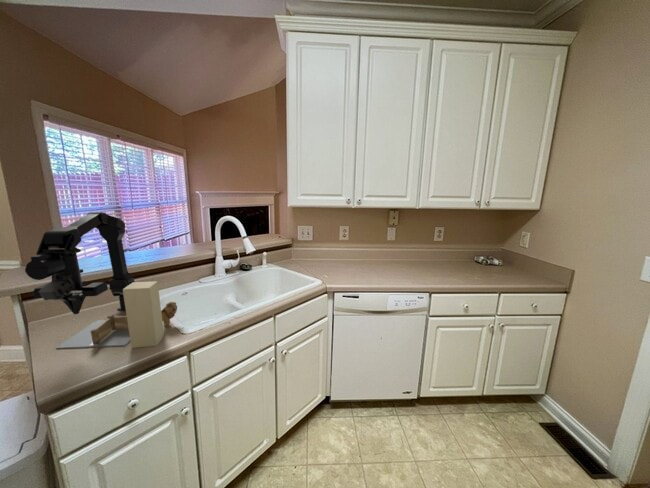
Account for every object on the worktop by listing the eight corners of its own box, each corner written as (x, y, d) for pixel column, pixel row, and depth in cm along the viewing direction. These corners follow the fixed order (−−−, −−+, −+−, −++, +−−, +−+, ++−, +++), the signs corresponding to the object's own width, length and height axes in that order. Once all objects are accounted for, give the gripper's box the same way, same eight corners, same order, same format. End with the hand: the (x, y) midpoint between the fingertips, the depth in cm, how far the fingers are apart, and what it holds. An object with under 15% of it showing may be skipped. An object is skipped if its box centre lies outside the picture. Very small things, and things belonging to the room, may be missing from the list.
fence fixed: (112, 328, 101) (109, 314, 100) (143, 327, 102) (141, 313, 101) (108, 331, 99) (105, 317, 98) (140, 329, 100) (138, 316, 99)
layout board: (97, 320, 107) (97, 319, 107) (154, 319, 109) (154, 317, 109) (56, 348, 89) (56, 347, 89) (125, 345, 91) (124, 344, 91)
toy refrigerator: (165, 334, 98) (158, 280, 93) (157, 346, 91) (148, 288, 86) (141, 336, 97) (133, 281, 92) (131, 348, 90) (121, 289, 85)
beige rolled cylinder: (91, 344, 90) (89, 331, 89) (108, 330, 99) (105, 318, 98) (97, 344, 90) (95, 331, 89) (113, 330, 99) (111, 318, 98)
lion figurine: (176, 319, 109) (173, 298, 107) (181, 323, 106) (179, 302, 104) (133, 334, 98) (129, 311, 96) (138, 339, 95) (134, 316, 93)
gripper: (8, 278, 77) (21, 327, 81) (78, 276, 79) (87, 325, 82) (44, 266, 88) (54, 310, 92) (105, 265, 90) (112, 308, 93)
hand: (76, 313), depth 89 cm, fingers closed
